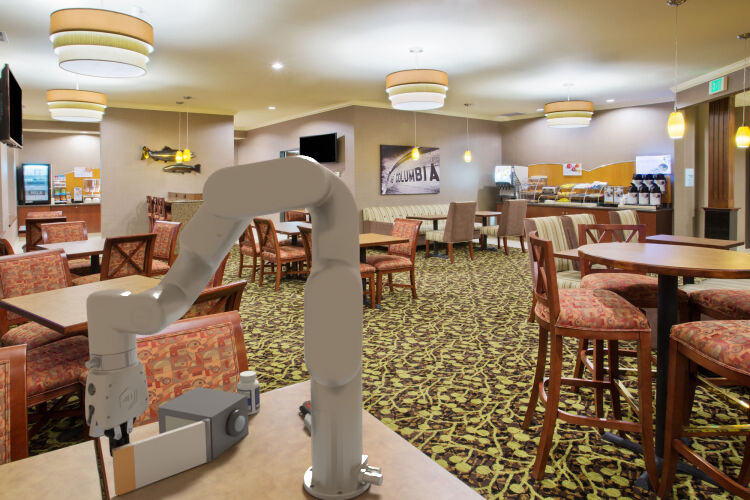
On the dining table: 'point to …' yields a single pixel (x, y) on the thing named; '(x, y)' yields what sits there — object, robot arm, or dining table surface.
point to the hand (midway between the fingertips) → (120, 455)
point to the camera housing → (208, 415)
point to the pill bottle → (250, 390)
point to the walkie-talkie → (306, 414)
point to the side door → (161, 456)
